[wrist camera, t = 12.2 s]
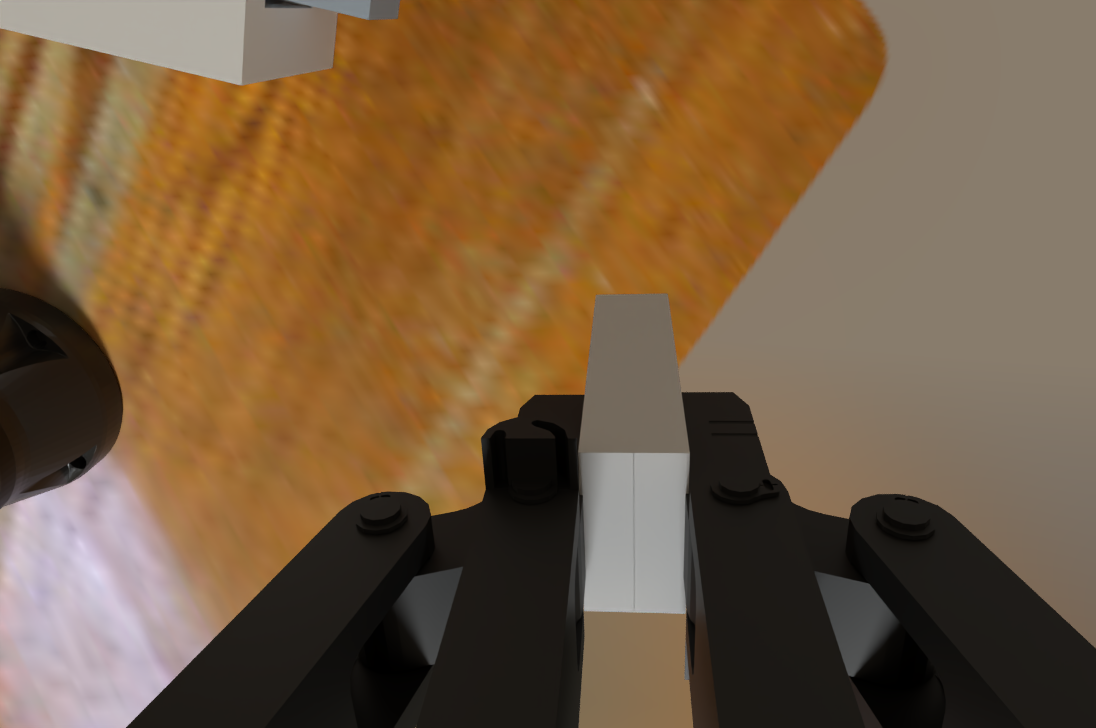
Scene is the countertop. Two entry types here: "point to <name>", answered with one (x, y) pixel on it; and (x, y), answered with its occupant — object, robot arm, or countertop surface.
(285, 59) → the plain grey box
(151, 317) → the countertop surface
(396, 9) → the slate key
